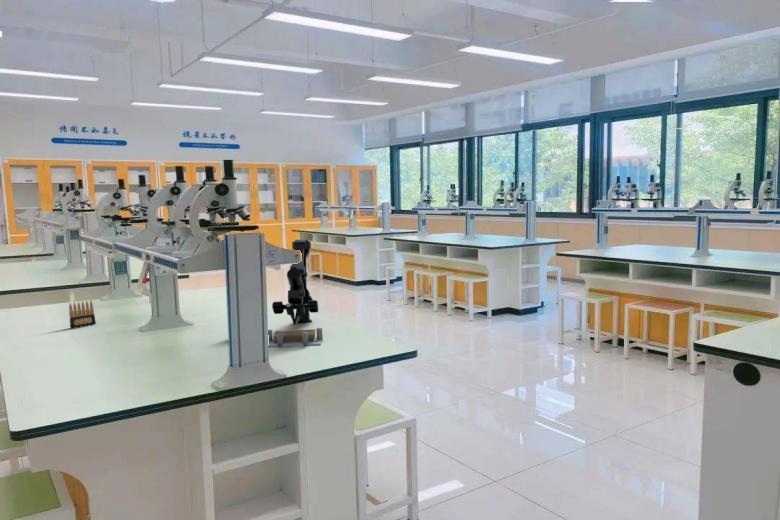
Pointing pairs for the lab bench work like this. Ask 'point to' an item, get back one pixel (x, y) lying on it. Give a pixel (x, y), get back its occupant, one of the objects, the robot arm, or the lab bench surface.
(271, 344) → the peg plate
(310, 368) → the lab bench surface
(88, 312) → the ammunition clip
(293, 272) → the robot arm
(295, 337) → the shelf board
